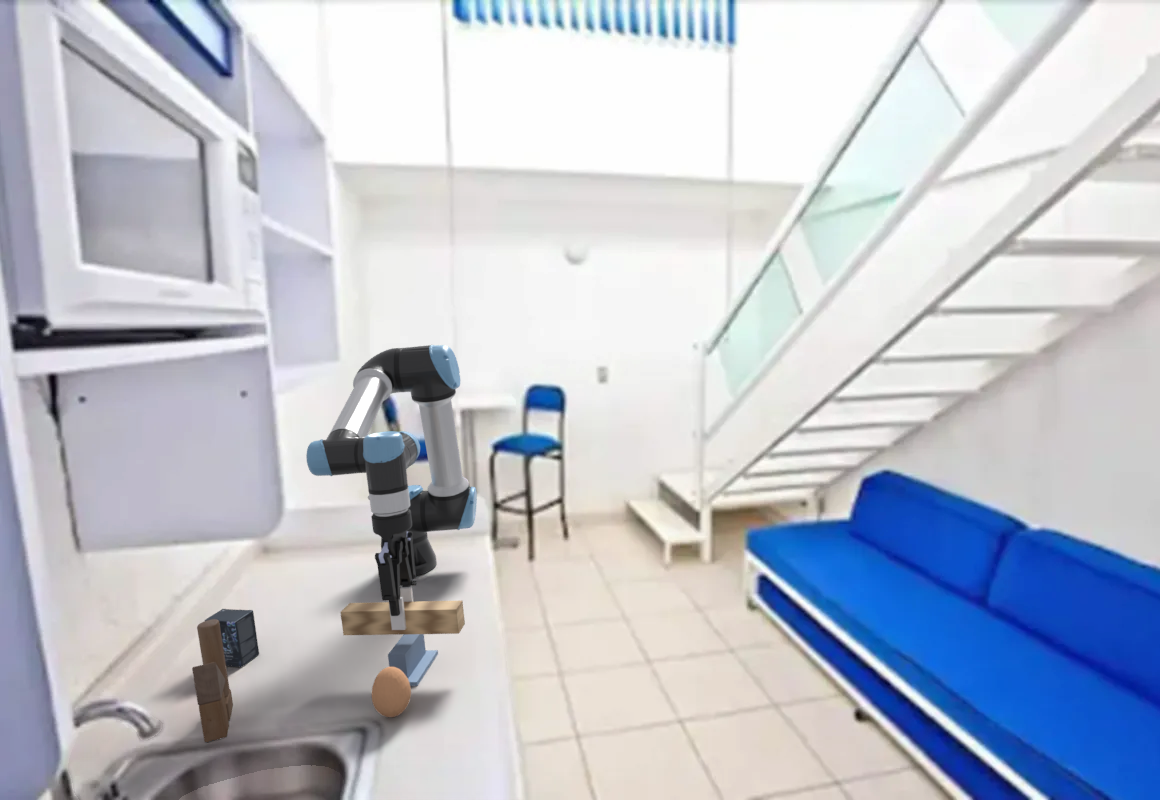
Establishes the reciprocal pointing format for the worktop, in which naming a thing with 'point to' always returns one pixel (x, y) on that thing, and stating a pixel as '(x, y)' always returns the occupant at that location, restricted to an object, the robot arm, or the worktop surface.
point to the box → (237, 636)
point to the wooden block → (212, 683)
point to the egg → (391, 692)
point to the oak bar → (417, 615)
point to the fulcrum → (412, 657)
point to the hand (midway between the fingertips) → (403, 623)
